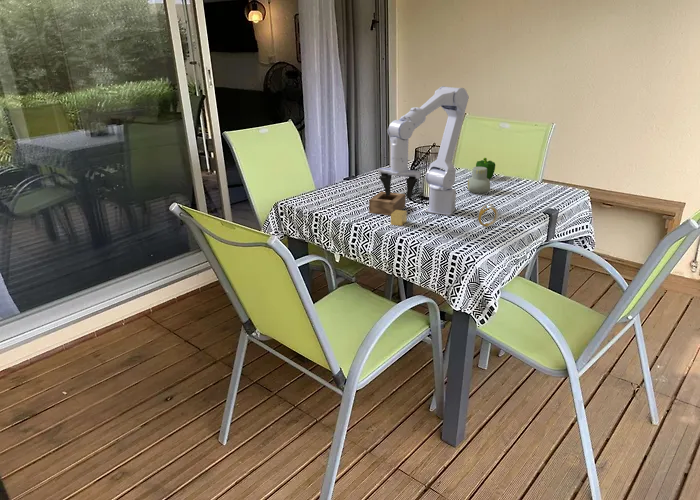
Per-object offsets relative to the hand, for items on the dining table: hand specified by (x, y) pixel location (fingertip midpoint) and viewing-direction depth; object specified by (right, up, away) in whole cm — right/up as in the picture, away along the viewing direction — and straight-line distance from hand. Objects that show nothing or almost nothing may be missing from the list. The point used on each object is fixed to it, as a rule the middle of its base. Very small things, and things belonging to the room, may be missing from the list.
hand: (398, 196), depth 176 cm
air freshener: (+36, +6, +37) cm, 52 cm away
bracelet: (+30, -11, -1) cm, 32 cm away
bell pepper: (+44, +13, +55) cm, 71 cm away
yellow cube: (0, -9, +4) cm, 10 cm away
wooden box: (-3, -3, +17) cm, 18 cm away
